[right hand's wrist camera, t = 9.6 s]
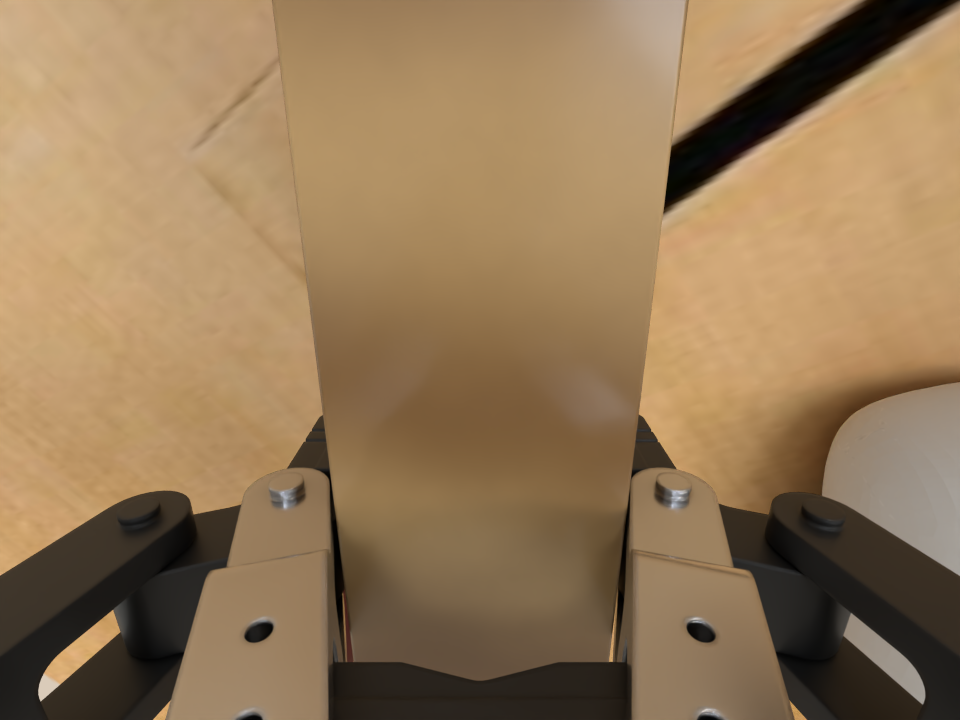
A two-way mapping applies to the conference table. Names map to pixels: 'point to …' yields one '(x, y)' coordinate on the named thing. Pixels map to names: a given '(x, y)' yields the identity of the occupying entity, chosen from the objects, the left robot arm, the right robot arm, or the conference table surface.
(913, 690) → the white slotted rounded device
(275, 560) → the right robot arm
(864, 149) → the conference table surface
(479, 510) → the beam
